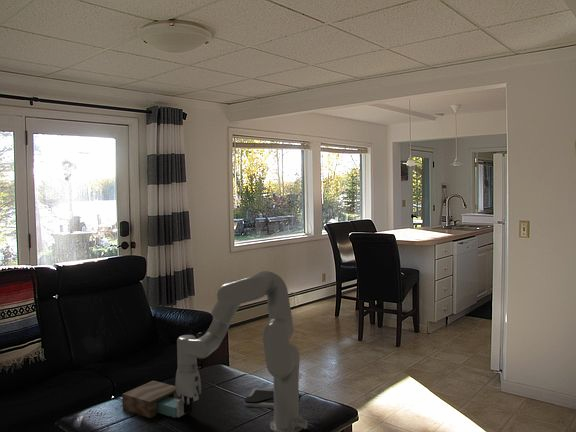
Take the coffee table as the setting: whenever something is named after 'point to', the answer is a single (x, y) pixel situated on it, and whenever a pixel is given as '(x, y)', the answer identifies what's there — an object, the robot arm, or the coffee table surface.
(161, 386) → the walnut rack
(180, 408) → the teal shell
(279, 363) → the robot arm
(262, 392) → the picture frame
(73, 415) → the coffee table surface
